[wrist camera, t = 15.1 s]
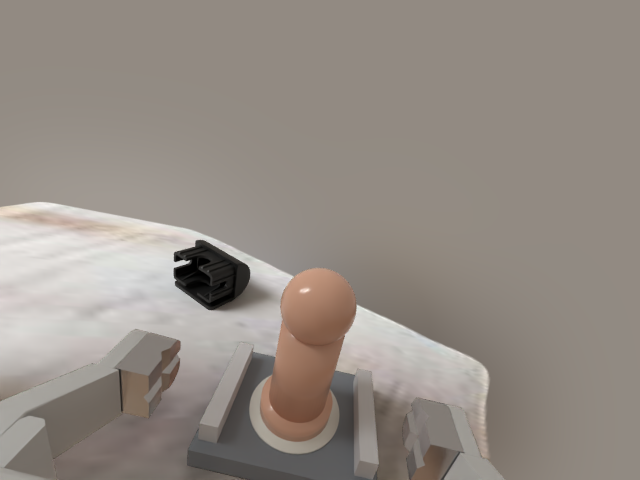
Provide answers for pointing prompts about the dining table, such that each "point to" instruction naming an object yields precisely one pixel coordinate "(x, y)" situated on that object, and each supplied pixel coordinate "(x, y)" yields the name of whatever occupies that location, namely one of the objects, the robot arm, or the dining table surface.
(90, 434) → the robot arm
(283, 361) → the ball-topped peg
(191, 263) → the end cap
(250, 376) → the display plinth
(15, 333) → the dining table surface
